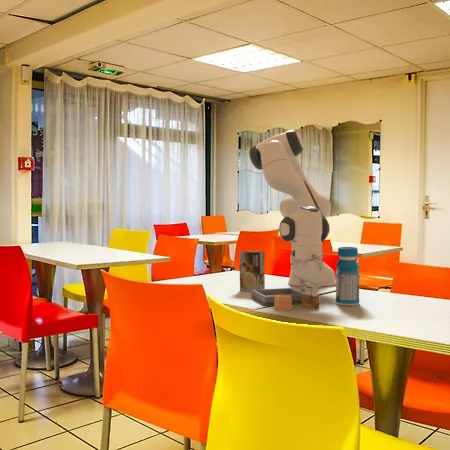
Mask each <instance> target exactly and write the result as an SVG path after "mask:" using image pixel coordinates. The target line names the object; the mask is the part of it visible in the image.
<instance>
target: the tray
mask: <svg viewBox="0 0 450 450" xmlns="http://www.w3.org/2000/svg"><path fill="white" fill-rule="evenodd" d="M302 294H306V292H301V291H300V290H298V289H295V288H293V287H283V288H282V287H281V288H265V289H257V290H252V292H251V299H253V300H254V301H257V302H258V303H260V304H262V305H263V306H274V295H289V296H291V297H292V305H299V304H301V305H302Z"/></svg>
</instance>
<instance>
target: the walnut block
mask: <svg viewBox="0 0 450 450" xmlns="http://www.w3.org/2000/svg"><path fill="white" fill-rule="evenodd" d="M301 307H302V308H304V309H306V308H307V310H312V308H315V309H320V294H317V296H315V297H313V296H311V292H310V293H307V292H306V293H305V294H302V304H301ZM310 308H311V309H310Z"/></svg>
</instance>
